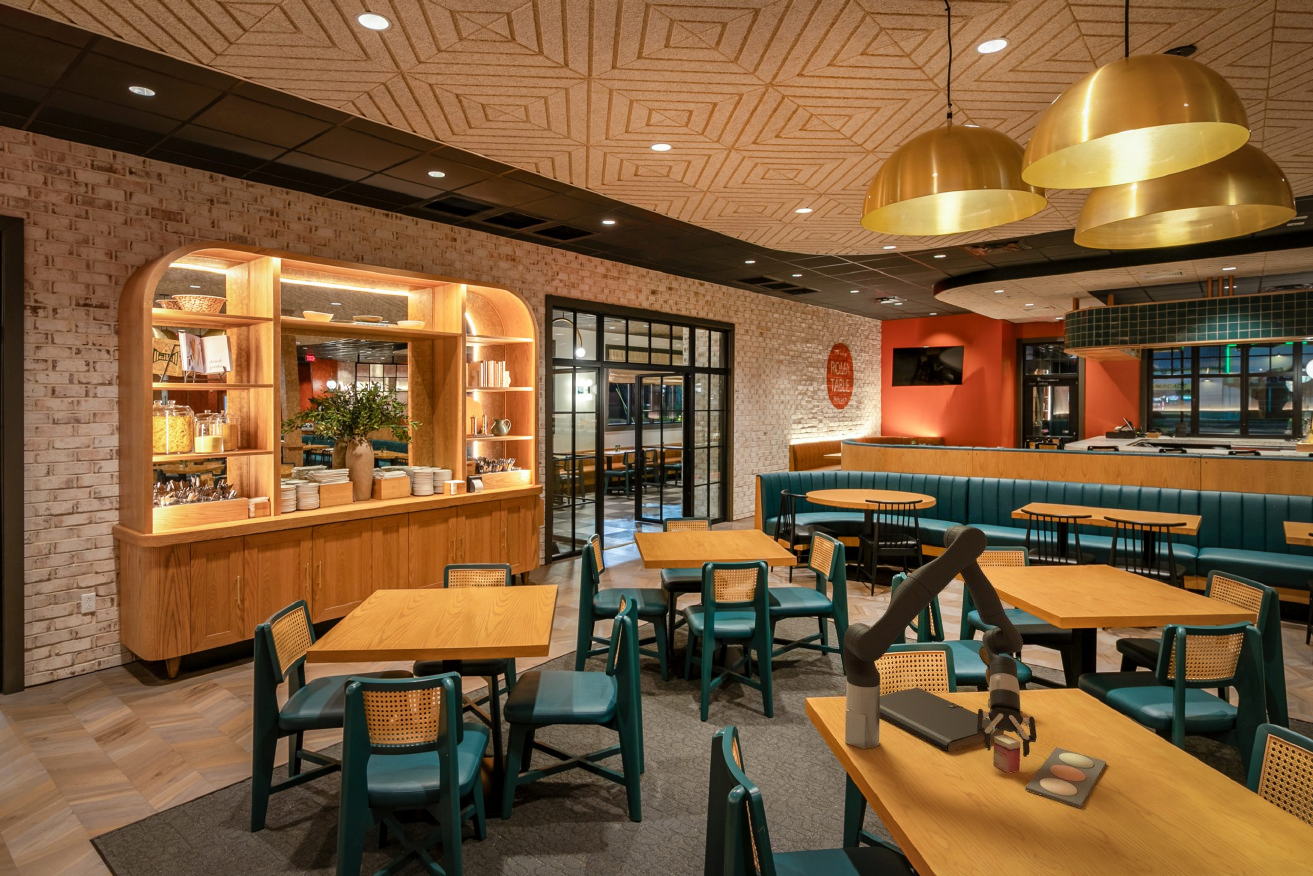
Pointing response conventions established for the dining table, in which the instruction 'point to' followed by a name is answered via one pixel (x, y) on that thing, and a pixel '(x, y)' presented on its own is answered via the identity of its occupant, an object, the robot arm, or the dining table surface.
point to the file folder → (933, 719)
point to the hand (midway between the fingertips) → (1007, 752)
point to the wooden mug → (986, 661)
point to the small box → (1006, 753)
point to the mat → (1067, 777)
